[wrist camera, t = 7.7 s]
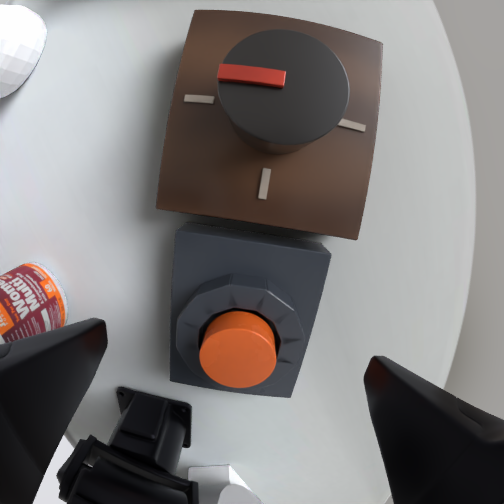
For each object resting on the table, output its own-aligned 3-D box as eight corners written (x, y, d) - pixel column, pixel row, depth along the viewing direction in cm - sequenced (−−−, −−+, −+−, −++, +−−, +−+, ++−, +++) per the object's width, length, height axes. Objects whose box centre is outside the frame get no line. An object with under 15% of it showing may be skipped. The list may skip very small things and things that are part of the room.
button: (267, 371, 15) (268, 392, 13) (202, 362, 15) (197, 382, 13) (280, 315, 14) (283, 334, 12) (207, 305, 14) (201, 322, 12)
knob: (328, 76, 11) (357, 40, 7) (317, 162, 12) (345, 156, 8) (236, 61, 11) (228, 17, 7) (221, 147, 12) (205, 134, 8)
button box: (287, 376, 19) (293, 415, 15) (177, 360, 19) (163, 397, 15) (321, 243, 16) (340, 263, 13) (186, 222, 16) (166, 236, 12)
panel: (340, 229, 16) (359, 241, 13) (172, 203, 16) (154, 209, 13) (364, 60, 13) (384, 41, 10) (203, 32, 13) (193, 7, 10)
